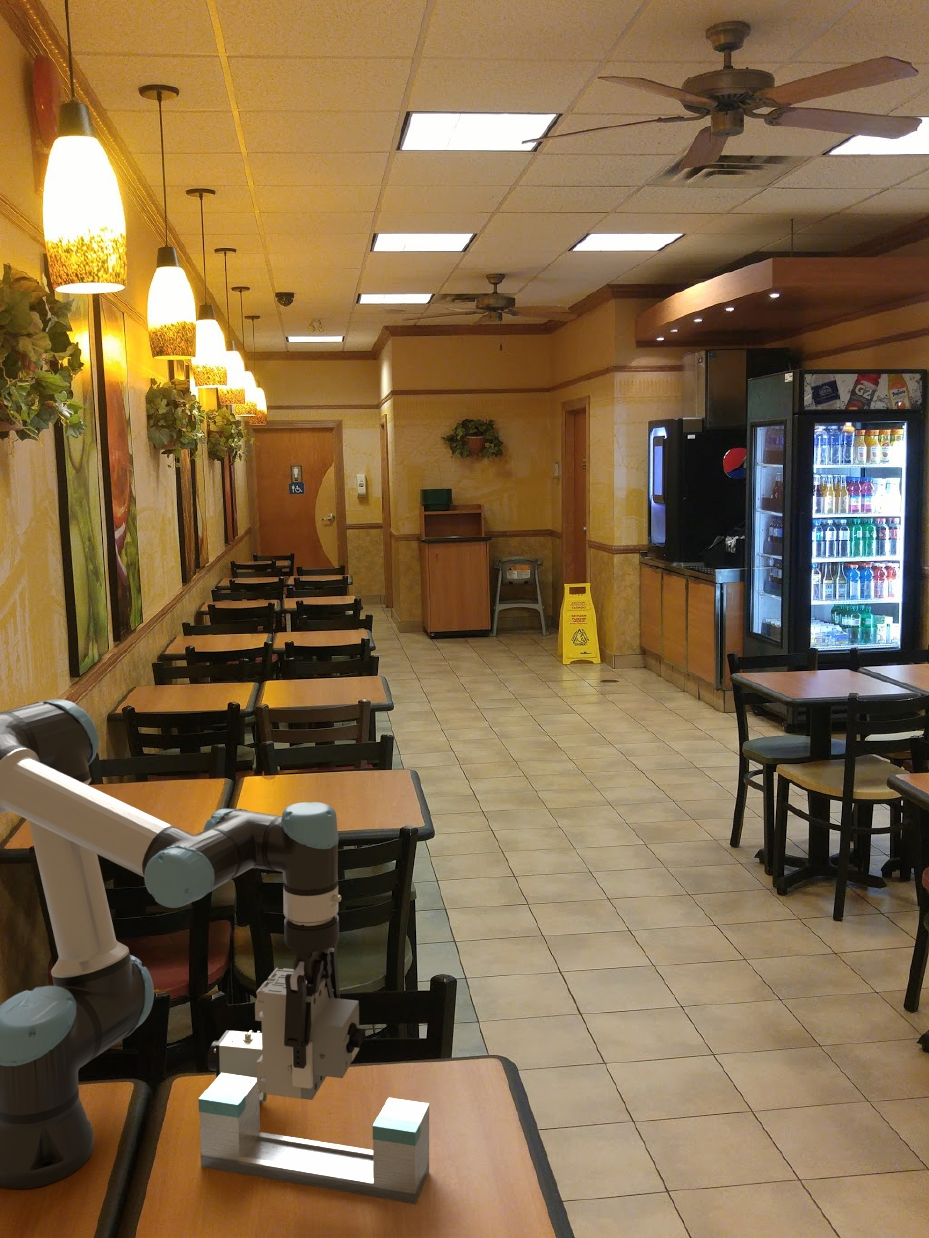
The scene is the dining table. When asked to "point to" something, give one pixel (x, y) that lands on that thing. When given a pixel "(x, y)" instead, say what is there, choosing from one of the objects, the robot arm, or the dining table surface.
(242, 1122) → the rail with modules
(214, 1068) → the pneumatic valve
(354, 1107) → the dining table surface
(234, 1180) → the dining table surface
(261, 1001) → the circuit breaker
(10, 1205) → the dining table surface
